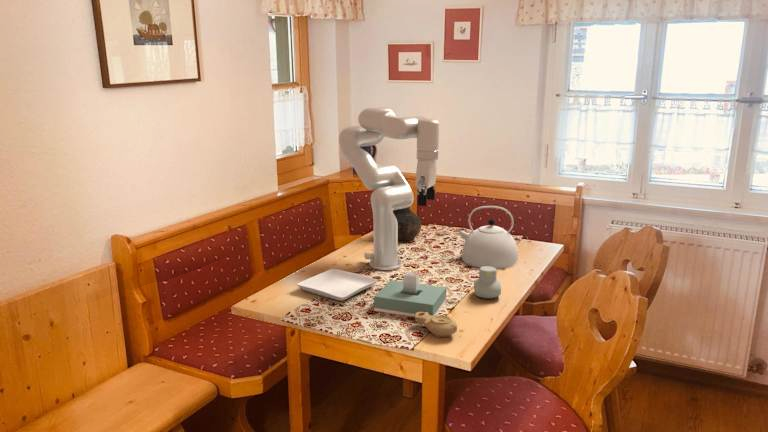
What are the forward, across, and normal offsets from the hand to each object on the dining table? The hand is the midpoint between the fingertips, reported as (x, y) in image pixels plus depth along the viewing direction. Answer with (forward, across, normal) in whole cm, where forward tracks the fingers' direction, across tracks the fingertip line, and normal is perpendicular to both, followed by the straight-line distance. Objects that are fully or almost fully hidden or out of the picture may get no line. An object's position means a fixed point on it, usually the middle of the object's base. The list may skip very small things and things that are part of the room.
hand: (426, 202), depth 223 cm
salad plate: (+31, +18, -27) cm, 45 cm away
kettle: (+31, -34, +16) cm, 49 cm away
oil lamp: (+30, +39, +16) cm, 52 cm away
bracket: (+29, +23, +2) cm, 37 cm away
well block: (+30, +23, +2) cm, 38 cm away
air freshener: (+30, +5, +24) cm, 39 cm away
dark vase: (+31, -49, -26) cm, 63 cm away
